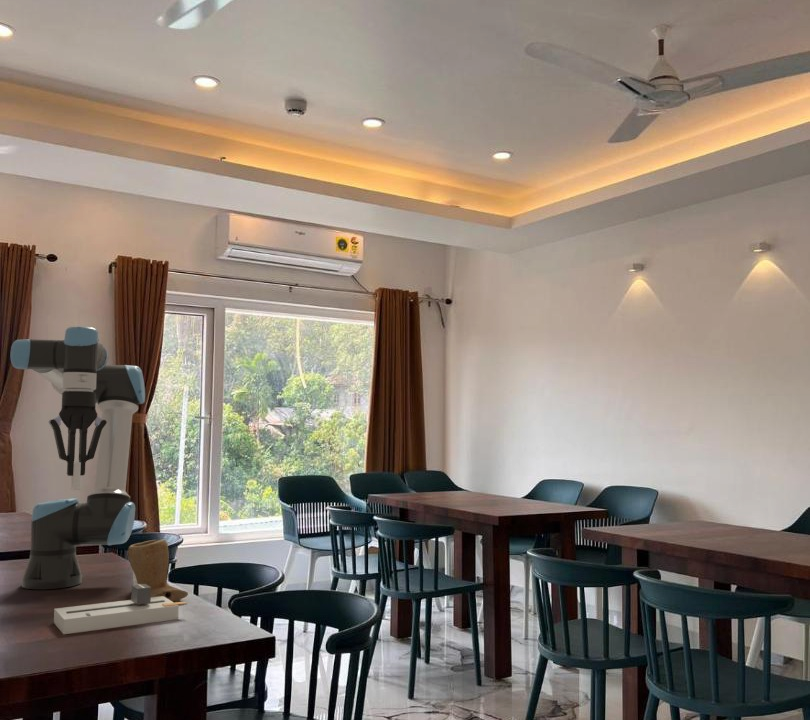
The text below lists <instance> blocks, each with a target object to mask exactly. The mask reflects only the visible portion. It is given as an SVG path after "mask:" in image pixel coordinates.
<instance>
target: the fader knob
mask: <svg viewBox="0 0 810 720" xmlns="http://www.w3.org/2000/svg"><path fill="white" fill-rule="evenodd" d="M130 594H131V597H130V600H131V601H132V602H134V603H135V604H137V605H139V604H148V603H151V587H150V586H148V585H146V584H138V585H134V584H131V593H130Z"/></svg>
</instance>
